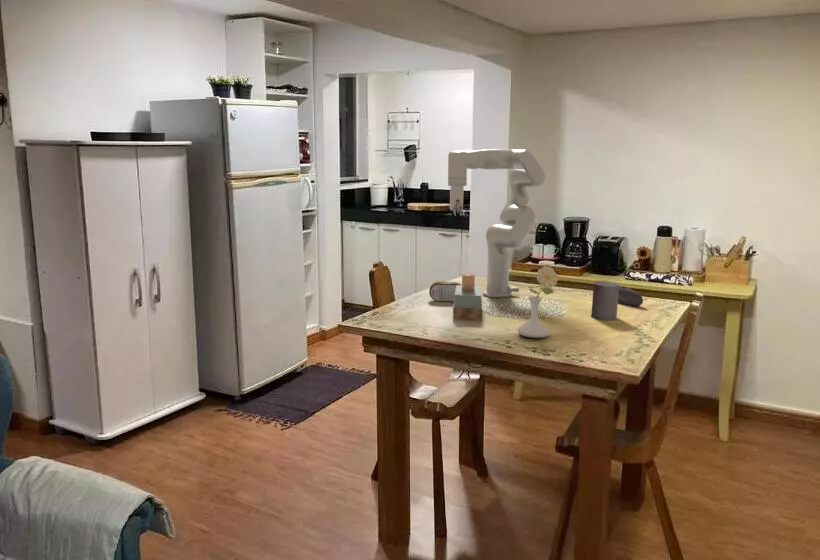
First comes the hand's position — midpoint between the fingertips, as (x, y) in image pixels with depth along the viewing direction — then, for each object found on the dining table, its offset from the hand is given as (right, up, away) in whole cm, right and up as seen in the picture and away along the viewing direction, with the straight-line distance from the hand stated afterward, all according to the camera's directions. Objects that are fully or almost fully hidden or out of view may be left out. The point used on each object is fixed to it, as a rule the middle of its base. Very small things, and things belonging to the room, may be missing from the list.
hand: (456, 224), depth 273 cm
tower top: (+4, -32, -10) cm, 34 cm away
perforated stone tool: (+73, -34, +10) cm, 81 cm away
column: (+4, -27, -11) cm, 29 cm away
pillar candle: (+57, -38, -13) cm, 69 cm away
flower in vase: (+25, -43, -39) cm, 63 cm away
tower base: (+4, -37, -9) cm, 38 cm away
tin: (-4, -32, +11) cm, 35 cm away
